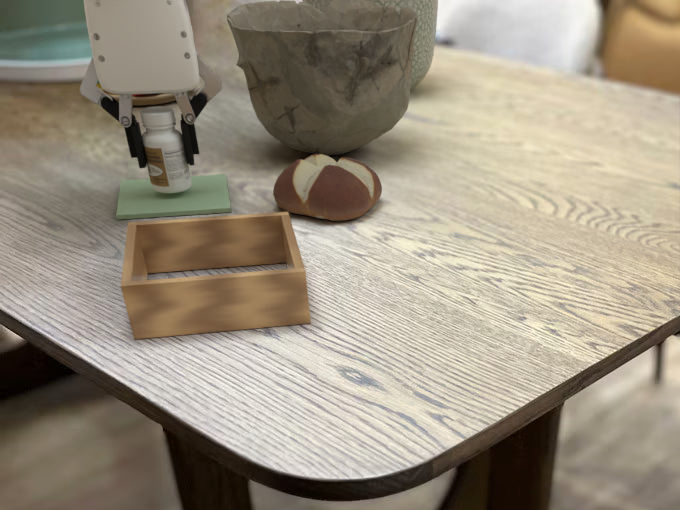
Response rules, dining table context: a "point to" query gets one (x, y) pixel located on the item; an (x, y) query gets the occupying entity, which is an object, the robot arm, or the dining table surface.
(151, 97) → the toy food set
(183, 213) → the mat
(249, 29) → the bowl
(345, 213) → the bread
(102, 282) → the dining table surface
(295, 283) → the compartment
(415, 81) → the planter
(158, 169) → the pill bottle
